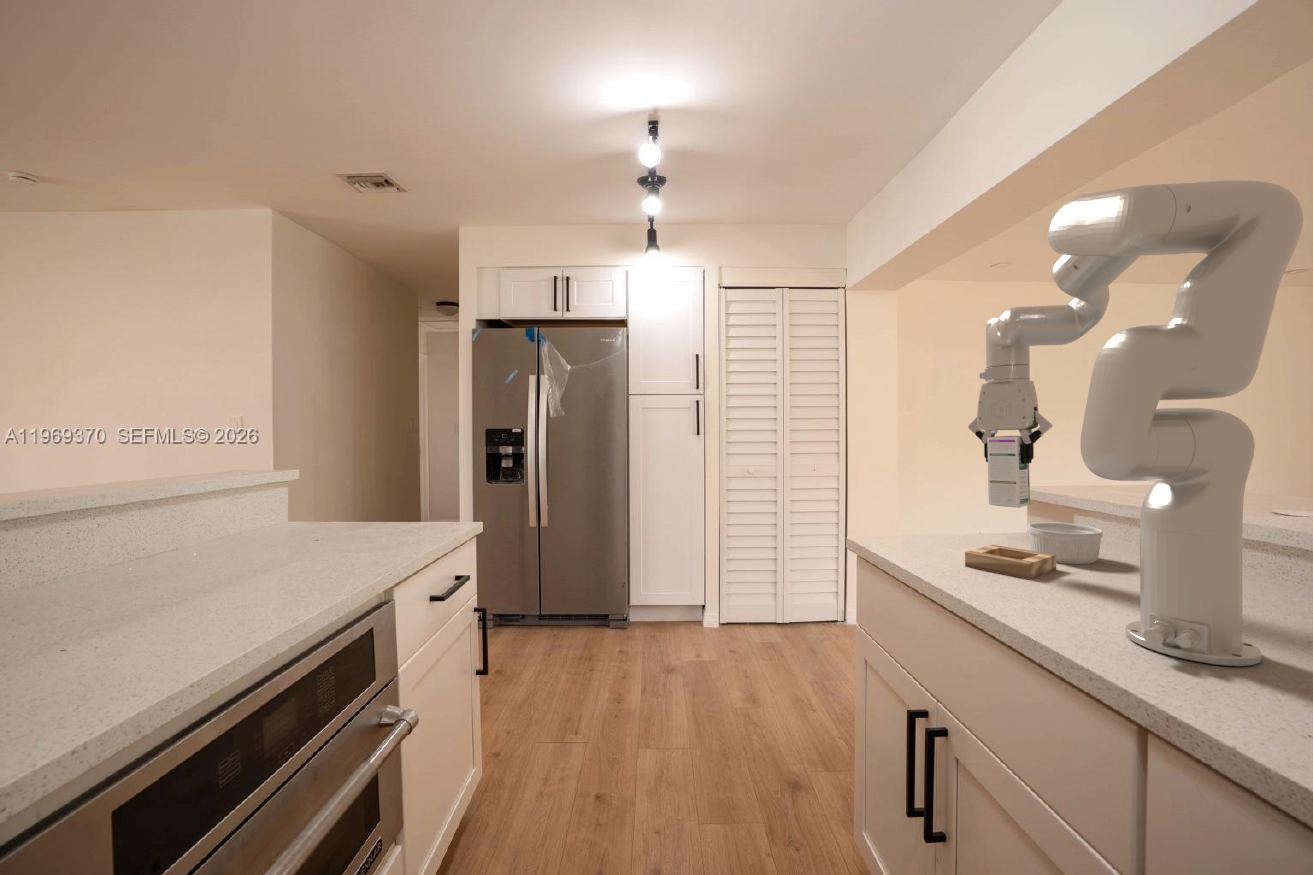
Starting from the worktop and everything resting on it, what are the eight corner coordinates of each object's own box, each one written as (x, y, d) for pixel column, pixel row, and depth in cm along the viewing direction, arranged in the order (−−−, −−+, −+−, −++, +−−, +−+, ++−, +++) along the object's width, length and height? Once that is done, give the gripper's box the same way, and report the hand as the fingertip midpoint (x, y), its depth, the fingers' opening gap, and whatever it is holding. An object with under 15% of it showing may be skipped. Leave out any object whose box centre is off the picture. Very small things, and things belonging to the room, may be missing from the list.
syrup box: (1019, 508, 105) (1019, 436, 105) (987, 505, 110) (986, 436, 110) (1030, 505, 109) (1030, 435, 108) (998, 502, 113) (998, 435, 113)
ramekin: (1100, 569, 107) (1100, 535, 107) (1022, 559, 116) (1022, 528, 116) (1104, 557, 117) (1104, 526, 117) (1032, 549, 126) (1032, 520, 126)
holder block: (1029, 579, 101) (1029, 563, 101) (965, 566, 111) (965, 552, 111) (1056, 569, 108) (1056, 554, 108) (993, 557, 118) (993, 544, 118)
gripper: (955, 379, 114) (956, 461, 114) (1048, 370, 100) (1048, 465, 100) (973, 380, 118) (974, 460, 119) (1064, 372, 104) (1065, 463, 104)
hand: (1008, 461), depth 109 cm, fingers closed on syrup box, 5 cm apart
